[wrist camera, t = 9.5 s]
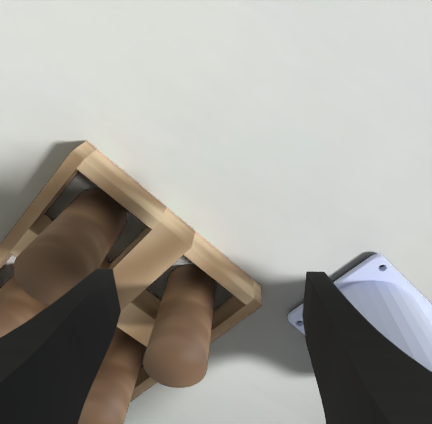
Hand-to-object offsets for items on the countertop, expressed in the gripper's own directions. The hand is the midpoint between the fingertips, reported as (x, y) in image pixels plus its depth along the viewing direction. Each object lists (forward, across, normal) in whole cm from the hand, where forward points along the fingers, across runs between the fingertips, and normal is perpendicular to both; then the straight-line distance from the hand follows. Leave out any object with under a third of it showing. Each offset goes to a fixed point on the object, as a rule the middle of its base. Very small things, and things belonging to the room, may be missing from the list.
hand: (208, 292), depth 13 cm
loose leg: (+10, +8, +2) cm, 13 cm away
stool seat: (+10, +8, +8) cm, 15 cm away
